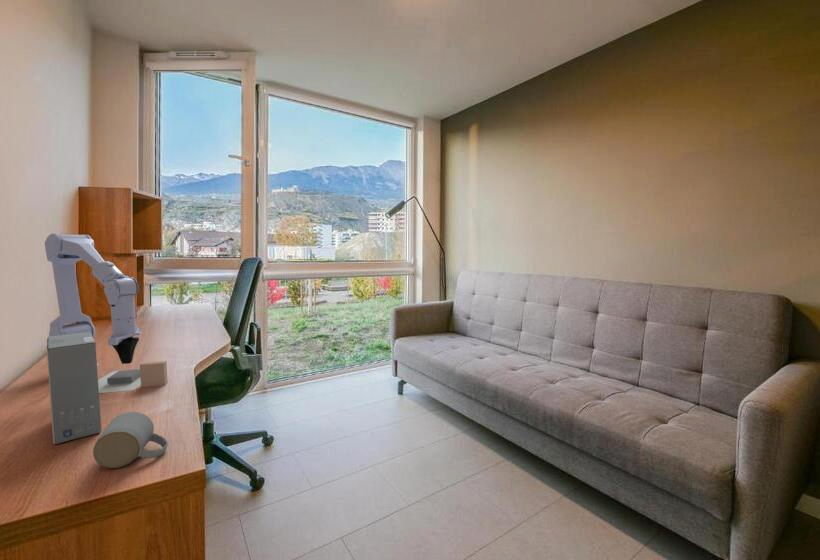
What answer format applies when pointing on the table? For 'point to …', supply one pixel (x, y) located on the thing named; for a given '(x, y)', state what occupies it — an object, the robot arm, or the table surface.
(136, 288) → the robot arm
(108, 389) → the felt mat
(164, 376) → the plain tile
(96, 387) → the hard drive box
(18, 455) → the table surface
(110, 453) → the ceramic mug
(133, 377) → the glazed tile
